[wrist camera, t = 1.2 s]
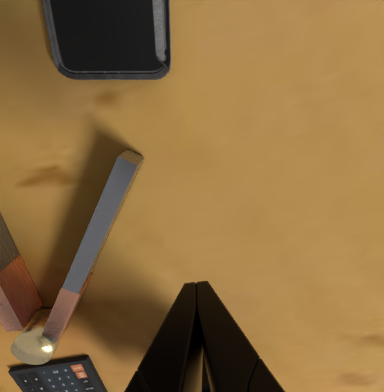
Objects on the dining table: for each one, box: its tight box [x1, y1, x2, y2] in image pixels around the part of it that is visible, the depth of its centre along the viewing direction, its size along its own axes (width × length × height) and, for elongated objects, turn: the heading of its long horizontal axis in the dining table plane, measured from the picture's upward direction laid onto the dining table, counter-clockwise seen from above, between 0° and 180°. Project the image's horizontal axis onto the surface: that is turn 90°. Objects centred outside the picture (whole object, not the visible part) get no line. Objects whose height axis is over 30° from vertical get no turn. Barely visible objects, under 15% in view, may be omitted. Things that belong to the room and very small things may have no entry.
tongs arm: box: [11, 149, 144, 365], centre depth 20 cm, size 22×4×3 cm, turn 152°
